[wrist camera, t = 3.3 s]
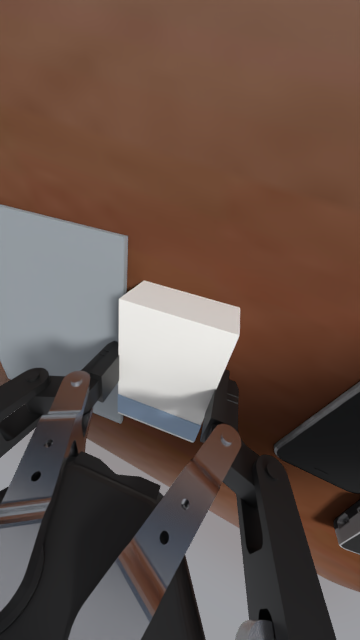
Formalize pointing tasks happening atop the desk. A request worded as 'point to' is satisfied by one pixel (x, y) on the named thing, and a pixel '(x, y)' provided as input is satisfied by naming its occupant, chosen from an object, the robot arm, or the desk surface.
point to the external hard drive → (349, 528)
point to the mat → (59, 295)
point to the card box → (172, 356)
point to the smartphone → (328, 443)
